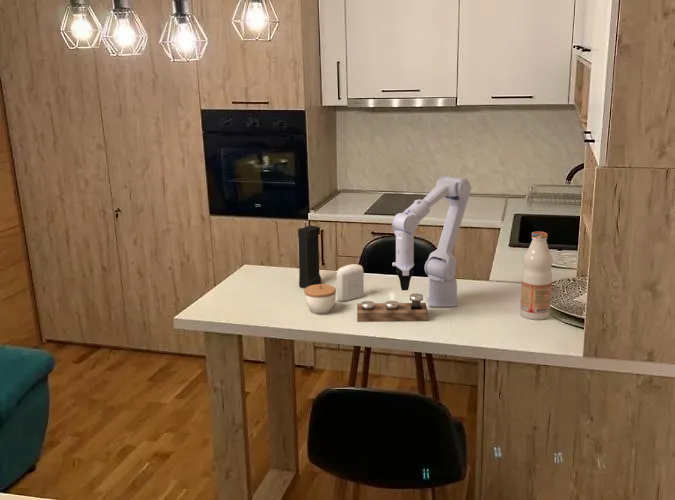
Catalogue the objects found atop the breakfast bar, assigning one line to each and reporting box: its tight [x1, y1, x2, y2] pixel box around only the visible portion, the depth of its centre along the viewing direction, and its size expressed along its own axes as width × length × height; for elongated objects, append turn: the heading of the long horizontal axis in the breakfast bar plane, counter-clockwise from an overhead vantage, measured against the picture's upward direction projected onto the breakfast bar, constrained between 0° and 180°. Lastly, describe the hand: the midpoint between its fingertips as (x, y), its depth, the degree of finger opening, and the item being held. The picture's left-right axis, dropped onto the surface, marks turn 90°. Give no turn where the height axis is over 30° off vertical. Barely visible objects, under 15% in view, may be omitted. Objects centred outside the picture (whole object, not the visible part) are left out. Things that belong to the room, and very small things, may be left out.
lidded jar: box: [303, 283, 337, 315], centre depth 246 cm, size 11×11×9 cm
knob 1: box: [360, 300, 375, 310], centre depth 240 cm, size 4×4×4 cm
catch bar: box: [356, 302, 429, 323], centre depth 240 cm, size 23×9×3 cm, turn 88°
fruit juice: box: [519, 231, 554, 321], centre depth 235 cm, size 9×9×28 cm
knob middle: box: [384, 300, 400, 310], centre depth 240 cm, size 4×4×4 cm
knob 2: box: [409, 293, 424, 310], centre depth 239 cm, size 4×4×4 cm
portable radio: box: [298, 222, 322, 289], centre depth 268 cm, size 8×6×25 cm
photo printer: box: [336, 263, 365, 302], centre depth 256 cm, size 10×4×12 cm, turn 123°
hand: (404, 289), depth 238 cm, fingers closed
